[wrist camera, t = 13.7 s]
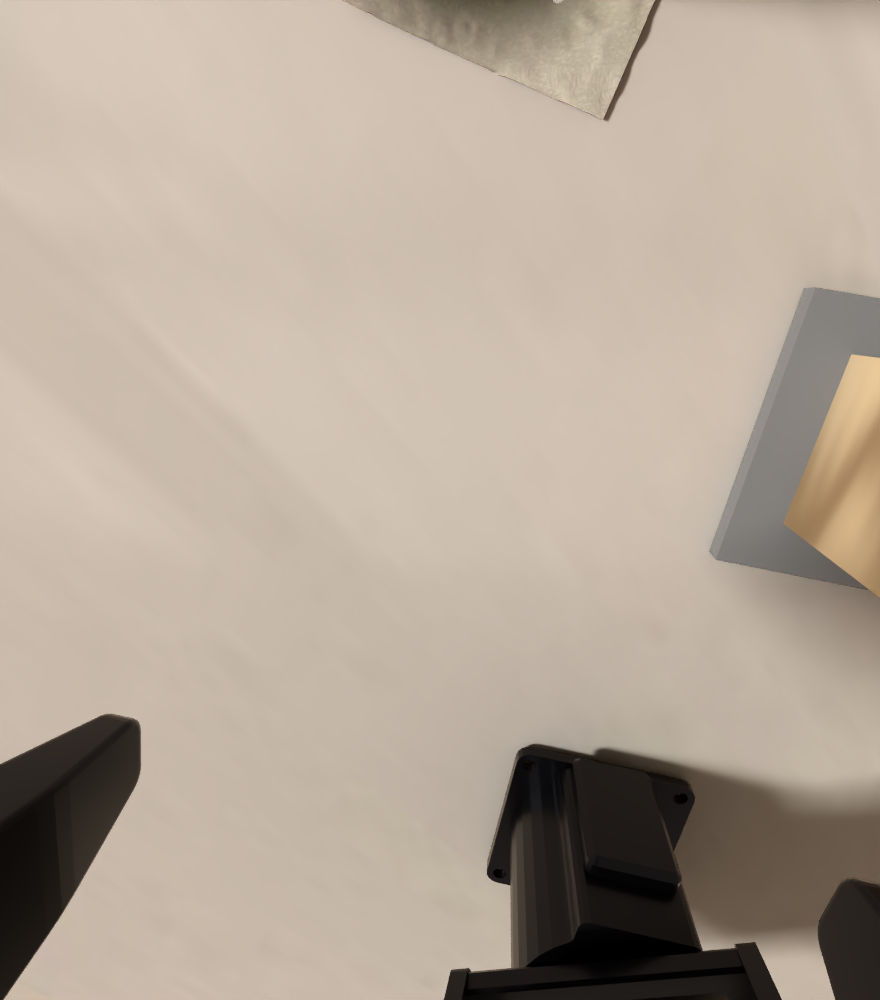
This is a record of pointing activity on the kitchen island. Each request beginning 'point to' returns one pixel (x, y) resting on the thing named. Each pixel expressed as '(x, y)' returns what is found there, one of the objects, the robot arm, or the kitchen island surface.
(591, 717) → the kitchen island surface
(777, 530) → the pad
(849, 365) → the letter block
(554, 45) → the condiment
